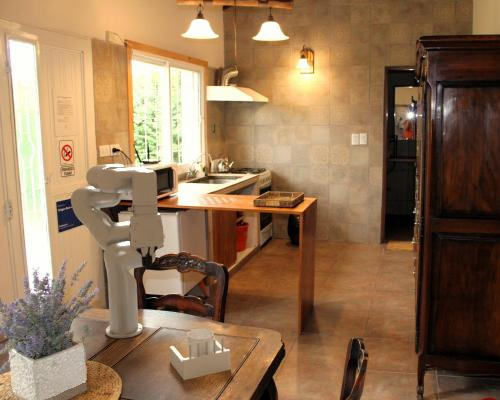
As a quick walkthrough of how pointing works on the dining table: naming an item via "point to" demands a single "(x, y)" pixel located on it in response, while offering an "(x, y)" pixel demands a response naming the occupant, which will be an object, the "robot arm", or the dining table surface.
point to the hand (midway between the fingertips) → (147, 267)
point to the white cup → (200, 340)
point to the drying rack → (201, 361)
